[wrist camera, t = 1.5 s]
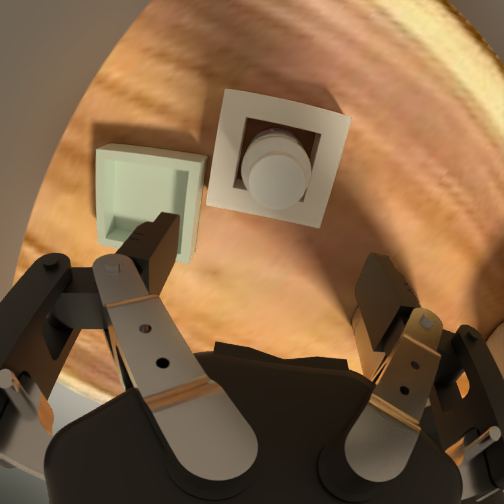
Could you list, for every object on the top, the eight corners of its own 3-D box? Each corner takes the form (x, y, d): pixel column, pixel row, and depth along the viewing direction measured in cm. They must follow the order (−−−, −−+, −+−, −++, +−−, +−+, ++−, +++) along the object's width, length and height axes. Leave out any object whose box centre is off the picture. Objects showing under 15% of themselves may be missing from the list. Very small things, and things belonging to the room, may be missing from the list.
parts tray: (207, 155, 29) (200, 162, 26) (195, 250, 35) (189, 264, 32) (110, 142, 29) (96, 149, 26) (109, 232, 34) (98, 244, 32)
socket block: (344, 114, 26) (351, 117, 23) (315, 216, 31) (319, 228, 29) (229, 88, 25) (225, 88, 23) (211, 194, 31) (205, 205, 28)
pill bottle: (301, 181, 30) (312, 222, 21) (247, 178, 30) (236, 218, 22) (305, 128, 27) (320, 147, 19) (248, 125, 27) (236, 142, 19)
